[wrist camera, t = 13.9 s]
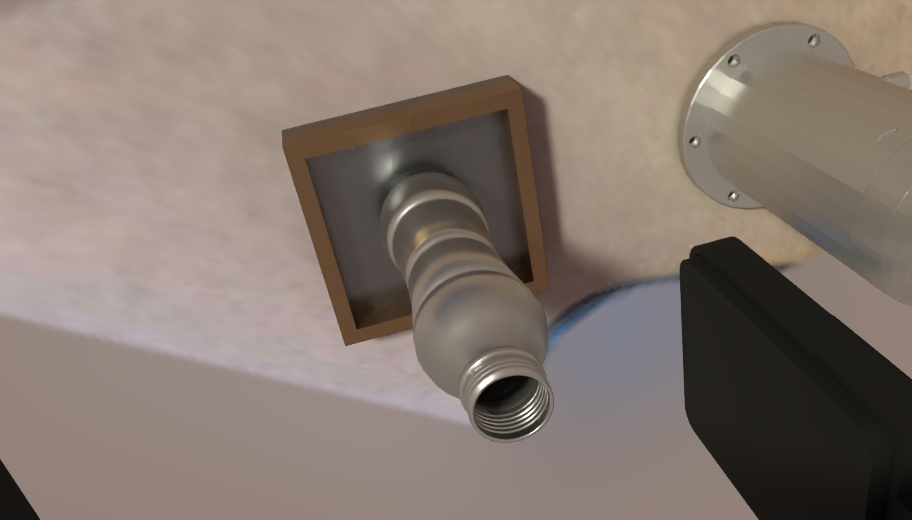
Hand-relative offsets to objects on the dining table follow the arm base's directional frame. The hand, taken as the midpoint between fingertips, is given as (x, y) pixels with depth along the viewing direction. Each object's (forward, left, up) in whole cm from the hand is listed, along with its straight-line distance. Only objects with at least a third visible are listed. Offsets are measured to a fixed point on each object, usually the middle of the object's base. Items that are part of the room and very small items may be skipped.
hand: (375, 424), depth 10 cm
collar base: (-4, +14, -36) cm, 39 cm away
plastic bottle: (-4, +14, -36) cm, 38 cm away
